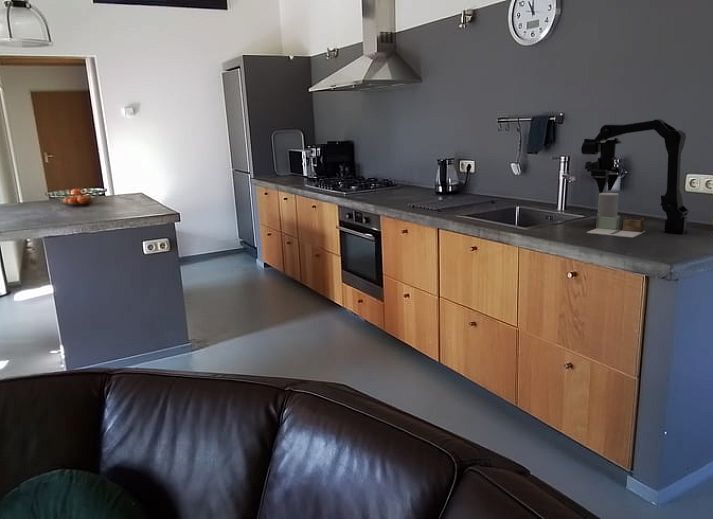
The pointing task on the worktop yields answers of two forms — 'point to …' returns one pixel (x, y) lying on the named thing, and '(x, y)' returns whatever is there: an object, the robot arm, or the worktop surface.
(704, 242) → the worktop surface
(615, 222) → the fence panel
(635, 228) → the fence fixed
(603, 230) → the card
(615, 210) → the gray block
